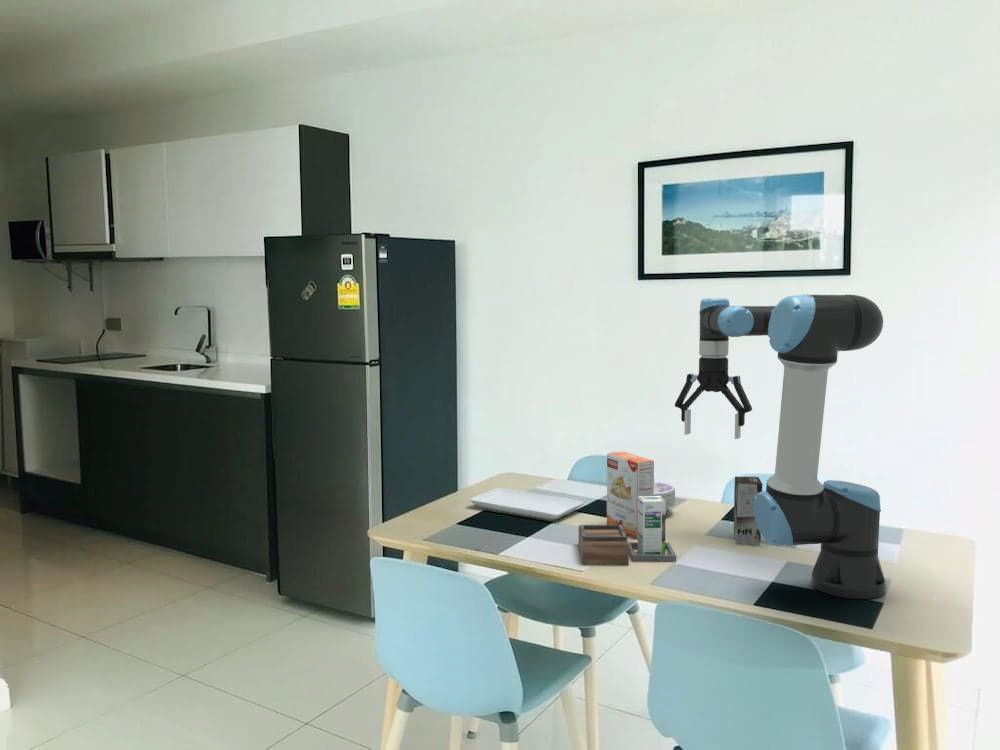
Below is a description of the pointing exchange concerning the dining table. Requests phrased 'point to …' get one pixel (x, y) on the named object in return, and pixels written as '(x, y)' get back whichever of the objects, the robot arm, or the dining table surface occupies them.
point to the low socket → (651, 558)
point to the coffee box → (746, 510)
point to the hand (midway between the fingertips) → (712, 436)
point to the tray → (526, 503)
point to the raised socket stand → (603, 544)
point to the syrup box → (651, 525)
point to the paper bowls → (665, 493)
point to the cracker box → (627, 488)
